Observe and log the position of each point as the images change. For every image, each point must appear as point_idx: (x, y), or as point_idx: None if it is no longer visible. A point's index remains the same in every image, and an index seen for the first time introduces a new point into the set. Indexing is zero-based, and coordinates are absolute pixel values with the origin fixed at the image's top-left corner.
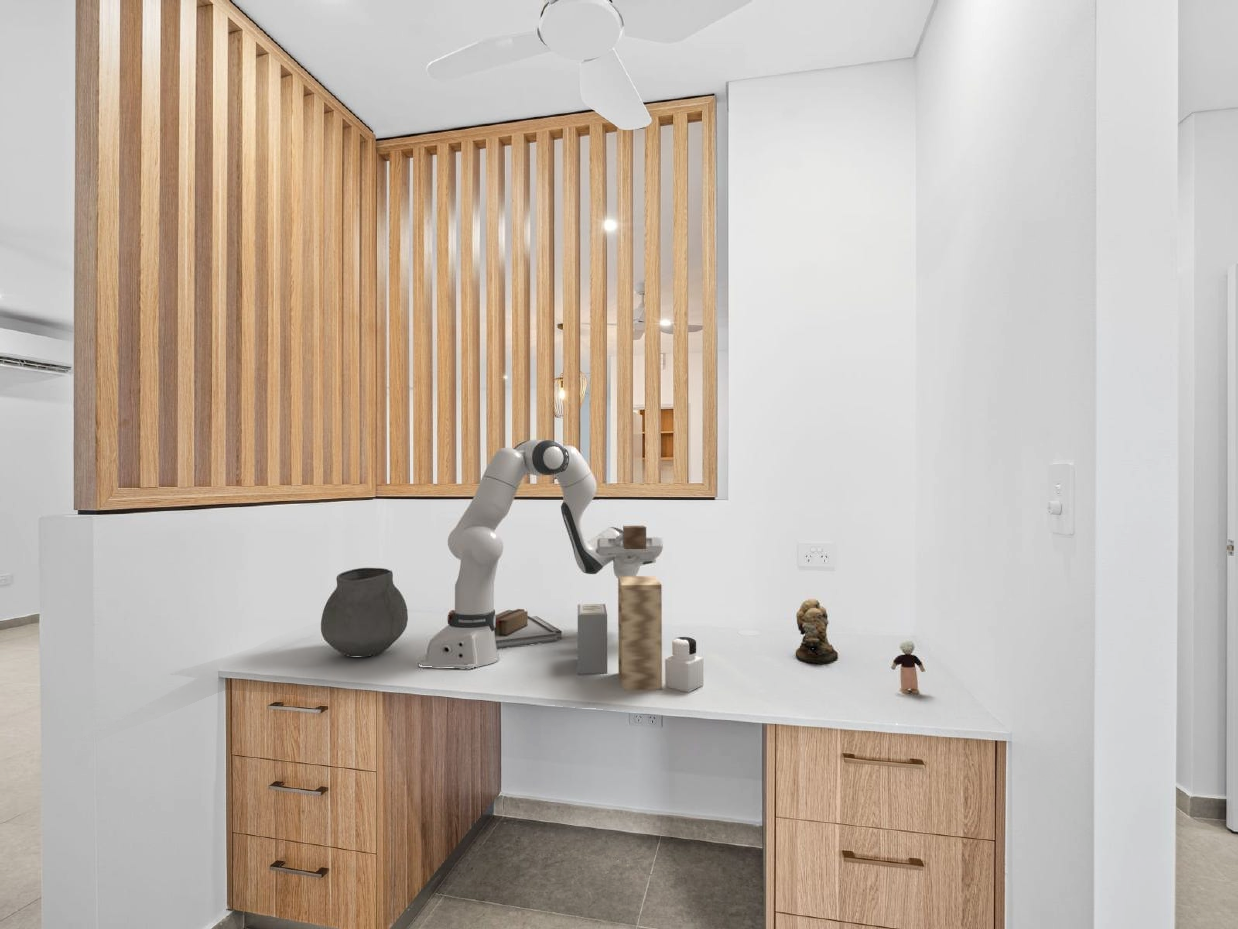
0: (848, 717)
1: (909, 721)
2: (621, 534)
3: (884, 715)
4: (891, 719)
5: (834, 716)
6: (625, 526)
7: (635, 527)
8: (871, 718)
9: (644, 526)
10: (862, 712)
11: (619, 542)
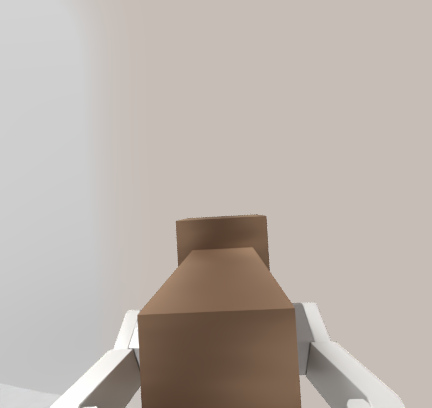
0: (43, 395)
1: (2, 388)
2: (299, 307)
3: (5, 397)
4: (11, 391)
5: (53, 397)
6: (254, 215)
7: (222, 216)
8: (26, 393)
9: (185, 219)
10: (16, 403)
11: (334, 405)
